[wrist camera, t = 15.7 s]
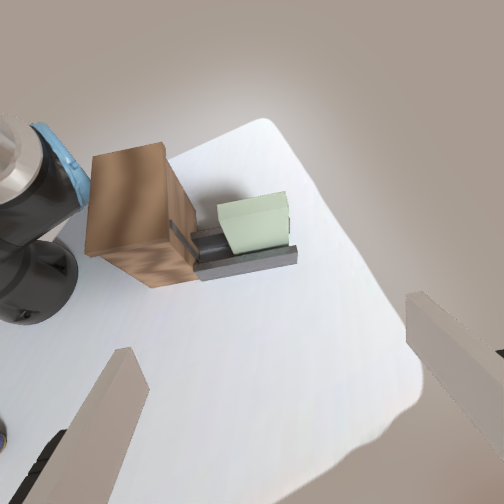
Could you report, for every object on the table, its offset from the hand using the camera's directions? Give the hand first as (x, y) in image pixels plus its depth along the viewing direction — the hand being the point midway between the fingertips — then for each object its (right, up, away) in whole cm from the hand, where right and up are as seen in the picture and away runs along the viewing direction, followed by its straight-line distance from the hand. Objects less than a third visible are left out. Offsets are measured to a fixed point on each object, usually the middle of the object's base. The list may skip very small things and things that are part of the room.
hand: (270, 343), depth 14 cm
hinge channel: (-2, +4, +37) cm, 37 cm away
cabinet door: (+1, +5, +37) cm, 37 cm away
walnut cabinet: (-15, +5, +39) cm, 42 cm away
